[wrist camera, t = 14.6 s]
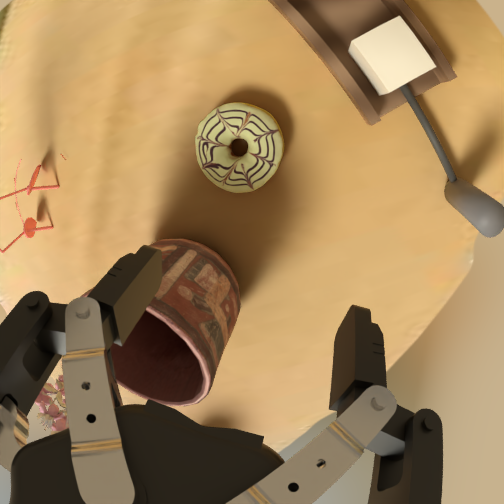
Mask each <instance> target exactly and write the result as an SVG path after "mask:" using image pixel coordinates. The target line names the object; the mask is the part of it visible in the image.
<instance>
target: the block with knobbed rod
mask: <svg viewBox="0 0 504 504" xmlns="http://www.w3.org/2000/svg"><path fill="white" fill-rule="evenodd" d="M348 53H349V55H350V56H351V57H352V58H353V60H354V61H355V62H356V64H357V65H358V66H359V68H360V69H361V70H362V72H363V73H364V75H365V76H366V77H367V79H368V80H369V82H370V83H371V84H372V86H373V87H374V89H375V90H376V92H377V93H378V95H379V96H380V95H384V94H387V93H390V92H392V91H393V90H395V89H397V88H399V89H400V90H401V92H402V93H403V95H404V96H405V98H406V100H407V101H408V103H409V104H410V106H411V108H412V109H413V111H414V113H415V114H416V116H417V118H418V120H419V121H420V123H421V125H422V127H423V128H424V130H425V132H426V134H427V136H428V138H429V140H430V141H431V143H432V145H433V147H434V149H435V151H436V153H437V155H438V157H439V159H440V161H441V163H442V165H443V167H444V170H445V172H446V174H447V176H448V178H449V181H448V182H447V184H446V186H445V191H444V193H445V198H446V200H447V201H448V202H449V203H450V204H451V205H452V206H453V207H454V208H455V209H456V210H457V211H459V212H460V213H461V214H462V215H463V216H464V217H465V218H466V219H467V220H468V221H469V222H470V223H471V224H472V225H473V226H474V227H475V228H476V229H477V230H478V231H479V232H480V233H481V234H482V235H484V236H486V237H494V236H496V235H498V234H499V233H500V232H501V231H502V230H503V228H504V207H503V206H502V204H500V203H499V202H497V201H496V200H495V199H493V198H492V197H490V196H489V195H487V194H486V193H484V192H483V191H481V190H480V189H478V188H477V187H475V186H473V185H472V184H470V183H469V182H467V181H466V180H464V179H462V178H460V177H456V175H455V173H454V171H453V169H452V166H451V164H450V162H449V160H448V158H447V156H446V154H445V152H444V150H443V148H442V146H441V144H440V142H439V140H438V138H437V136H436V134H435V132H434V130H433V128H432V127H431V125H430V123H429V121H428V119H427V118H426V116H425V114H424V112H423V111H422V109H421V107H420V105H419V104H418V102H417V100H416V99H415V97H414V96H413V94H412V92H411V91H410V89H409V88H408V86H407V84H406V83H408V82H409V81H411V80H413V79H415V78H417V77H418V76H420V75H422V74H424V73H426V72H428V71H429V70H431V69H433V68H435V67H436V66H435V64H434V62H433V61H432V59H431V58H430V56H429V55H428V53H427V52H426V50H425V49H424V47H423V46H422V45H421V43H420V42H419V40H418V39H417V38H416V36H415V35H414V33H413V32H412V31H411V29H410V28H409V27H408V26H407V24H406V23H405V22H404V20H403V19H402V18H401V17H400V16H398V17H396V18H394V19H392V20H390V21H388V22H386V23H384V24H382V25H380V26H378V27H376V28H374V29H372V30H371V31H369V32H367V33H365V34H363V35H361V36H360V37H358V38H356V39H354V40H352V41H351V44H350V47H349V50H348Z"/></svg>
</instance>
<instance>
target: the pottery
mask: <svg viewBox="0 0 504 504" xmlns="http://www.w3.org/2000/svg"><path fill="white" fill-rule="evenodd" d="M149 246H150V247H154V248H157V249H160V250H161V251H162V282H161V285H160V288H159V290H158V292H157V293H156V295H155V296H154V298H153V299H152V301H151V302H150V304H149V305H148V307H147V308H146V310H145V311H144V313H143V314H142V316H141V317H140V319H139V320H138V322H137V324H136V325H135V327H134V328H133V330H132V331H131V333H130V334H129V336H128V337H127V339H126V341H125V342H124V344H123V345H122V346H120V345H118V344H116V343H114V342H113V344H112V345H111V347H110V348H111V351H112V357H113V363H114V369H115V374H116V379H117V383H118V384H119V385H121V386H122V387H124V388H125V389H127V390H128V391H130V392H131V393H133V394H136V395H138V396H140V397H142V398H145V399H147V400H148V399H150V400H153V401H155V402H158V403H160V404H164V405H169V406H188V405H192V404H197V403H199V402H200V401H201V400H202V399H204V398H205V397H206V396H207V395H208V393H209V391H210V389H211V387H212V384H213V381H214V378H215V374H216V371H217V368H218V365H219V362H220V359H221V357H222V354H223V351H224V349H225V347H226V345H227V342H228V340H229V338H230V336H231V334H232V331H233V329H234V326H235V324H236V321H237V318H238V314H239V311H240V305H241V303H240V294H239V285H238V283H237V280H236V278H235V276H234V274H233V272H232V270H231V268H230V266H229V265H228V264H227V263H226V262H225V261H224V260H223V258H222V257H221V256H220V255H219V254H218V253H216V252H215V251H213V250H212V249H210V248H208V247H207V246H205V245H204V244H201V243H198V242H195V241H192V240H188V239H162V240H159V241H156V242H155V243H153V244H151V245H149ZM93 288H94V287H93ZM93 288H92V289H90V290H89V291H87V292H86V293H84V294H83V295H82V296H80V297H87V295H88V294H89V293H90V292H91V291H92V290H93Z"/></svg>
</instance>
